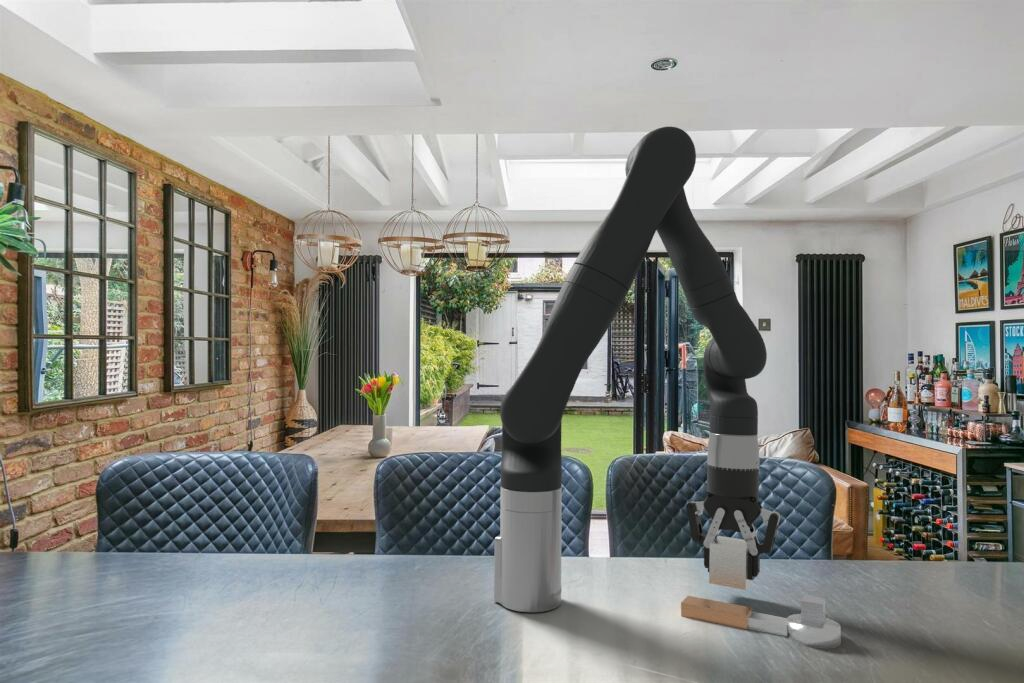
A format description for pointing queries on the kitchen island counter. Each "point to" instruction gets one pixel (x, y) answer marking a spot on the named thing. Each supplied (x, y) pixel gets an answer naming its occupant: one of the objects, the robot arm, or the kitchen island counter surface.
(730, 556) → the light grey block
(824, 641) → the ratchet
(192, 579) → the kitchen island counter surface
